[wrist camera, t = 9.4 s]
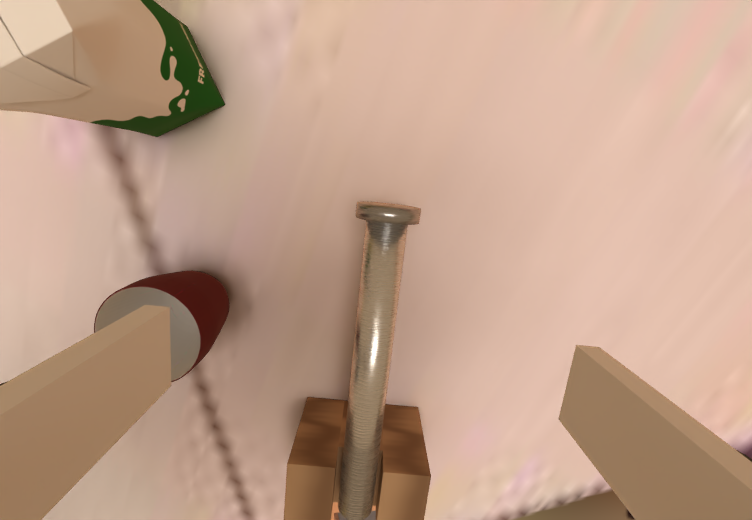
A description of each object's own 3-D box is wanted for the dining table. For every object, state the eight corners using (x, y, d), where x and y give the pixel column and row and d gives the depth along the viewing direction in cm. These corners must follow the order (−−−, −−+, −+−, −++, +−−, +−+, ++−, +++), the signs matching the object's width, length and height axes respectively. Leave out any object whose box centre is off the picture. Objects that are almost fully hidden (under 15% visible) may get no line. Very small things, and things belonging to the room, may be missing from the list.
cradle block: (304, 444, 41) (283, 522, 32) (307, 397, 40) (287, 463, 31) (411, 454, 42) (421, 534, 32) (418, 407, 40) (430, 476, 31)
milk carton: (102, 55, 33) (-306, -125, 13) (192, 10, 32) (-98, -254, 12) (154, 151, 34) (-138, 118, 15) (240, 110, 34) (53, 18, 14)
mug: (161, 346, 39) (89, 403, 29) (131, 273, 37) (43, 308, 27) (258, 321, 38) (217, 371, 28) (231, 246, 36) (178, 272, 27)
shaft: (381, 486, 34) (381, 532, 30) (331, 481, 34) (325, 527, 30) (417, 206, 29) (425, 211, 24) (358, 199, 29) (355, 204, 24)
